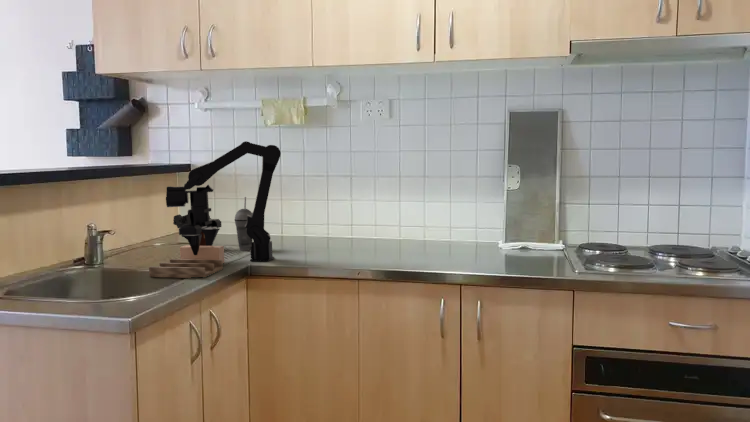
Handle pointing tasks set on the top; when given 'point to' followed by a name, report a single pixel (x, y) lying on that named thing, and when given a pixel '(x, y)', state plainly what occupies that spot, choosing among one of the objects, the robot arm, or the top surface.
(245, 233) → the beverage cup
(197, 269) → the drying rack
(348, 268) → the top surface
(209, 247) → the pink rectangular block
